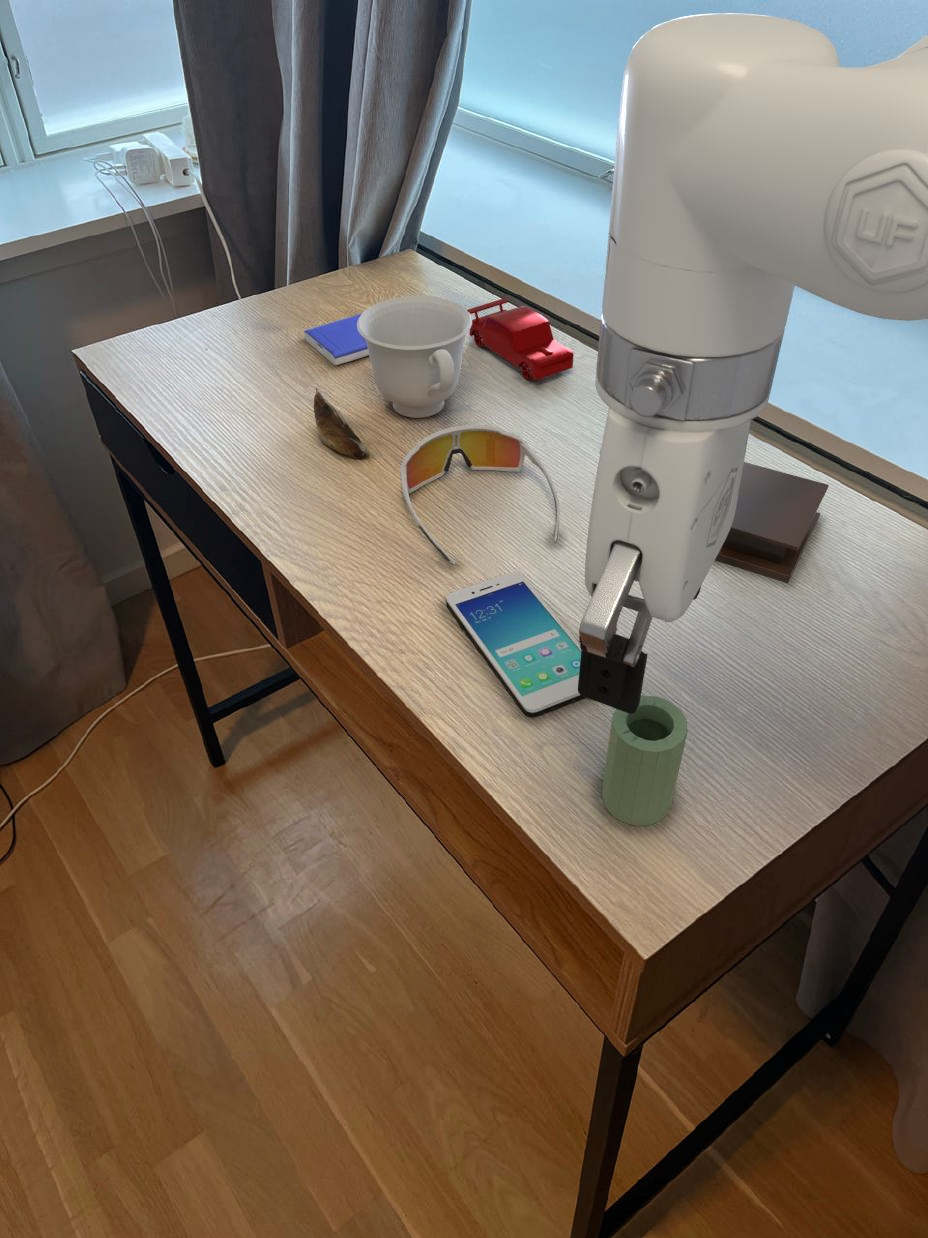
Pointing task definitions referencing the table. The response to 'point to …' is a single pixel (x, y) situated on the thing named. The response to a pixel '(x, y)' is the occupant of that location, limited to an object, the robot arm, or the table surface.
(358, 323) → the teacup
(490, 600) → the smartphone
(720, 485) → the robot arm
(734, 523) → the stand
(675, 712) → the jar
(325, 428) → the oyster shell
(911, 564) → the table surface
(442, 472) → the sunglasses
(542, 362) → the toy car
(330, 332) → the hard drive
